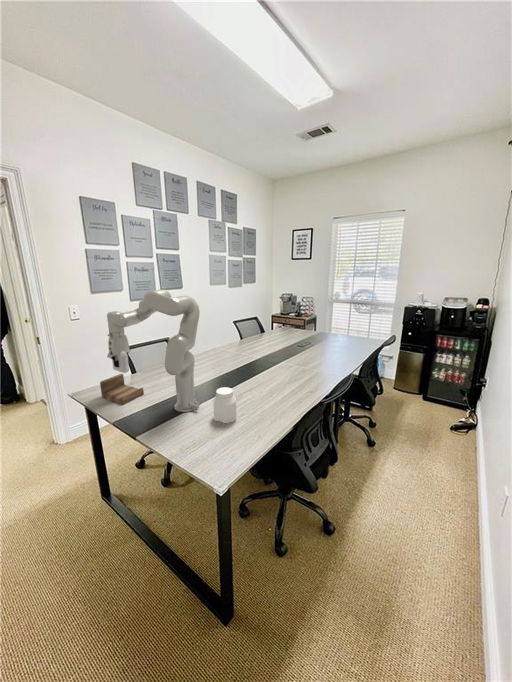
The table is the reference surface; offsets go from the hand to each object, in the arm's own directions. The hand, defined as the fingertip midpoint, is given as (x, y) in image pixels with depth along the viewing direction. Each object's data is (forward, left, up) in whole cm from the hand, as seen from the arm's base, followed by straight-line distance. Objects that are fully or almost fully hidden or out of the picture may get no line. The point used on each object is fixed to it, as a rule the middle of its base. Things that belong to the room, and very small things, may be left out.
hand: (120, 365), depth 158 cm
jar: (-65, -7, -20) cm, 68 cm away
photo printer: (0, 0, -4) cm, 4 cm away
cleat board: (0, 0, -20) cm, 20 cm away
